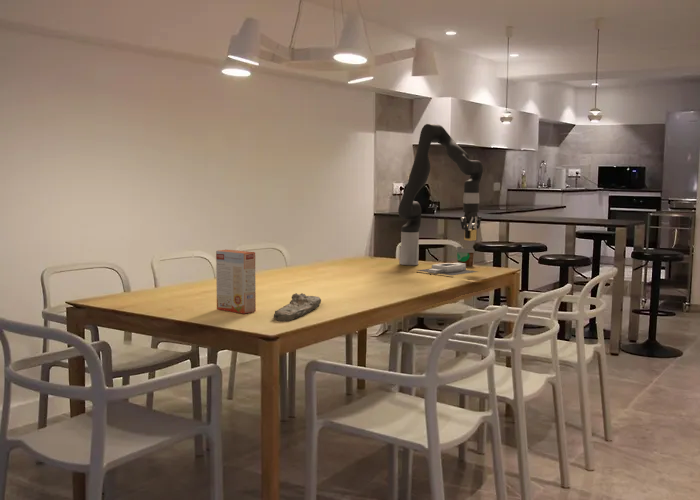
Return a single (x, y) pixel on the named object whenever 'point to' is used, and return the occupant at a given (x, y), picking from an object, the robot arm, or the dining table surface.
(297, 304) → the elongated rock
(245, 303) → the cracker box
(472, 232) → the tan small block
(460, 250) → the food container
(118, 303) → the dining table surface
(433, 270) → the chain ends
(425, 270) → the mat
